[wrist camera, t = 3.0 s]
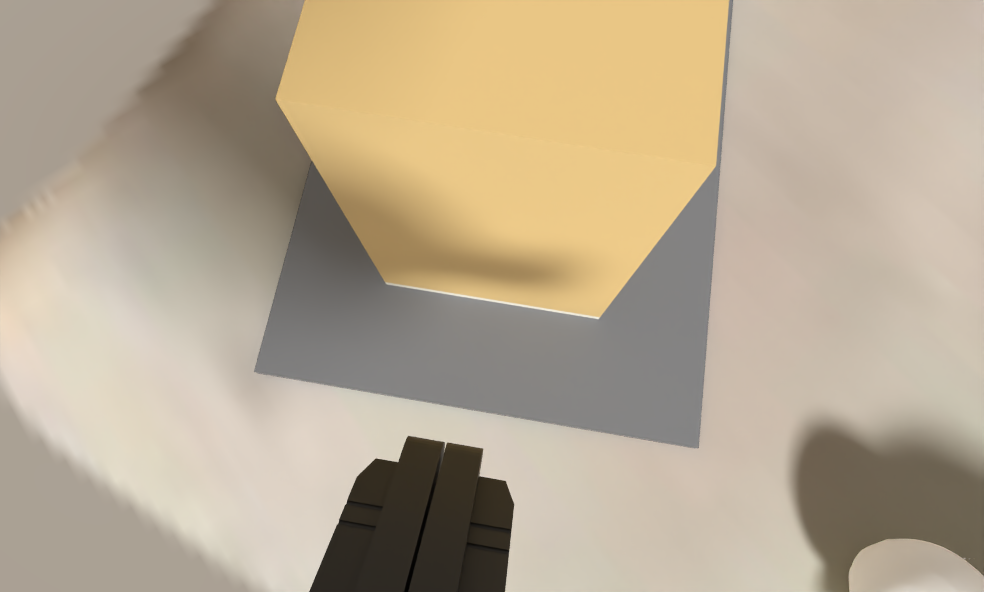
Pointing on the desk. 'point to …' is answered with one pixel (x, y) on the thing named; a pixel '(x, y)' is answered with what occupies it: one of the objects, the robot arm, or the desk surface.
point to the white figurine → (912, 569)
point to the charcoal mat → (503, 330)
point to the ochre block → (509, 136)
